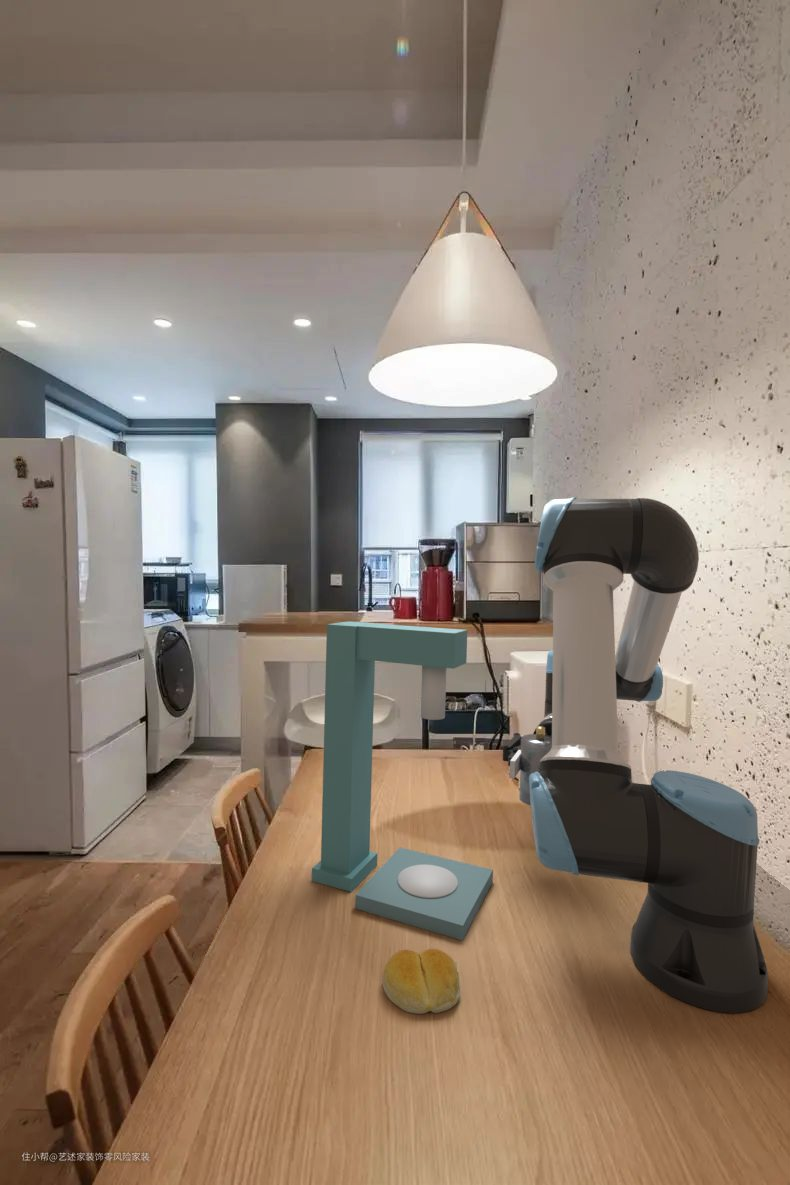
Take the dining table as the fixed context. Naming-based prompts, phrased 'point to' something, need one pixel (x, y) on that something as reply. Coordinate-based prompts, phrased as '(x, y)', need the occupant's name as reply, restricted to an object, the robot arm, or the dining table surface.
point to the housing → (532, 758)
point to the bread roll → (422, 981)
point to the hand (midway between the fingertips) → (533, 772)
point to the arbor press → (409, 878)
